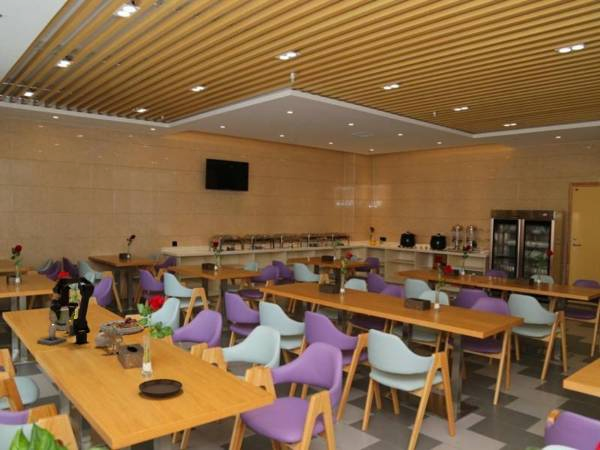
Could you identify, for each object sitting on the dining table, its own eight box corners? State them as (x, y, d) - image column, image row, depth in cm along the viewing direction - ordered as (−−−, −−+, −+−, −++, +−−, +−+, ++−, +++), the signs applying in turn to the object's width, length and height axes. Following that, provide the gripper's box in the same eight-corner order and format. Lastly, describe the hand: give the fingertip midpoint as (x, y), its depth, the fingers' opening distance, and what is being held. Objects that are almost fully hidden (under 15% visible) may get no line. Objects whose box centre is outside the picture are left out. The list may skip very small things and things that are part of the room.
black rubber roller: (78, 334, 351) (78, 324, 350) (73, 336, 346) (73, 326, 346) (73, 334, 352) (73, 324, 352) (68, 335, 348) (68, 325, 348)
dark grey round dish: (66, 341, 332) (66, 338, 332) (51, 345, 321) (51, 342, 321) (53, 339, 336) (53, 336, 336) (37, 343, 325) (37, 340, 325)
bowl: (135, 336, 352) (135, 325, 352) (92, 335, 353) (92, 323, 353) (149, 327, 382) (149, 316, 382) (109, 325, 383) (110, 315, 383)
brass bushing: (73, 332, 356) (74, 320, 356) (69, 333, 352) (69, 321, 352) (69, 332, 357) (69, 319, 357) (64, 333, 354) (65, 320, 354)
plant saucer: (186, 385, 257) (186, 378, 257) (177, 400, 236) (177, 393, 236) (144, 384, 256) (145, 377, 256) (132, 399, 235) (133, 392, 235)
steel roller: (56, 341, 330) (57, 323, 330) (53, 343, 326) (53, 324, 326) (51, 341, 331) (51, 323, 330) (47, 343, 327) (47, 324, 326)
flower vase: (95, 358, 320) (110, 356, 302) (87, 329, 321) (102, 326, 303) (114, 351, 329) (130, 349, 311) (107, 323, 330) (122, 320, 312)
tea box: (61, 331, 360) (62, 310, 359) (54, 328, 366) (54, 308, 366) (81, 327, 372) (82, 307, 371) (74, 325, 378) (74, 305, 377)
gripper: (67, 292, 352) (66, 315, 352) (44, 296, 335) (43, 319, 335) (79, 294, 348) (78, 316, 348) (56, 298, 330) (56, 321, 331)
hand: (64, 318), depth 340 cm, fingers open, 9 cm apart
